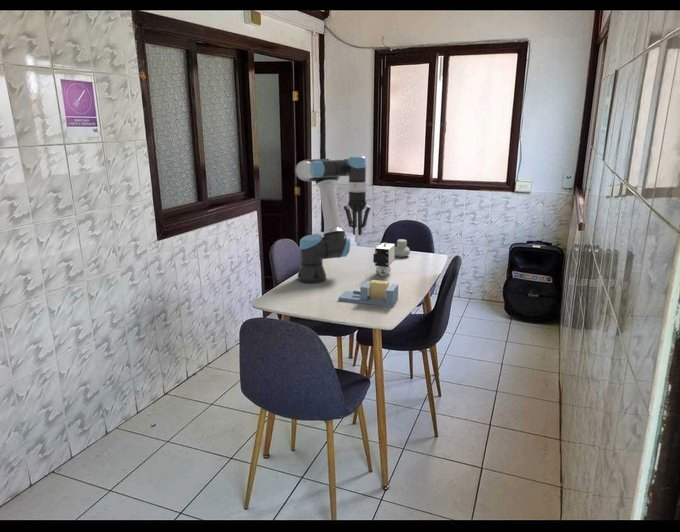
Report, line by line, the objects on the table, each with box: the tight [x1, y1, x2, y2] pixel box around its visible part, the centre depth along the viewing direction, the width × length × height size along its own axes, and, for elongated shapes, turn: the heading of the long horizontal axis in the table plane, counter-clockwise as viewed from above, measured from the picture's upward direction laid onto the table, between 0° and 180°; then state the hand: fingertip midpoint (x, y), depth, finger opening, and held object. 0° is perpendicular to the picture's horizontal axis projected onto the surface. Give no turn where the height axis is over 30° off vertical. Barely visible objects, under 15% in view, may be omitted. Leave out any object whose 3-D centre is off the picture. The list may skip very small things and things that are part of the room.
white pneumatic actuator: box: [373, 242, 396, 277], centre depth 264 cm, size 18×8×18 cm, turn 159°
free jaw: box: [353, 280, 372, 300], centre depth 228 cm, size 9×10×6 cm
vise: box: [338, 283, 399, 308], centre depth 228 cm, size 26×10×8 cm, turn 69°
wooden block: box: [370, 279, 390, 301], centre depth 225 cm, size 8×4×8 cm, turn 69°
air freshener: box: [395, 238, 411, 258], centre depth 302 cm, size 11×8×10 cm
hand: (357, 241), depth 228 cm, fingers closed
